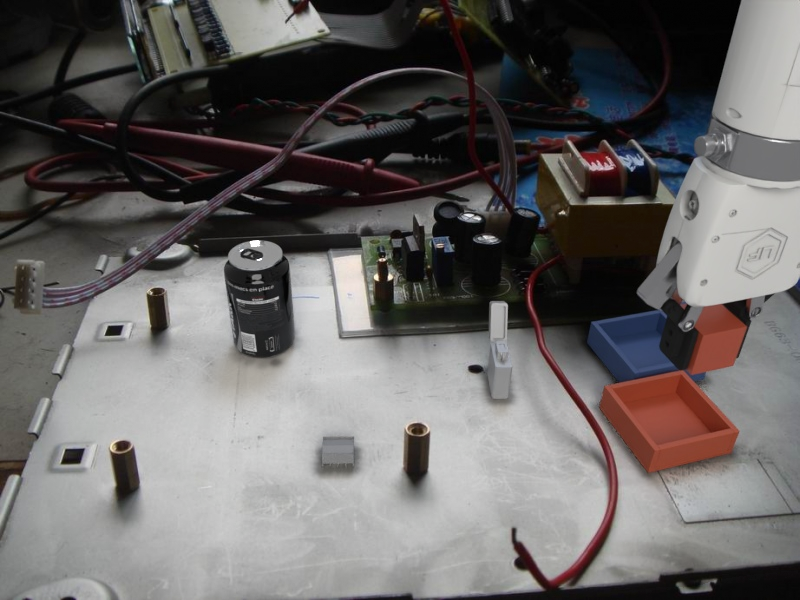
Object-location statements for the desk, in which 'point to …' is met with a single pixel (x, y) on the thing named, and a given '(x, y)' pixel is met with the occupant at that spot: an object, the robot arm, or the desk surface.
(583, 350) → the desk surface
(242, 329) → the beverage can
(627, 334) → the slate bin
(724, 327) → the terracotta block
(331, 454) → the grey pin connector
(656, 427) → the terracotta bin
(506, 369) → the lighter
